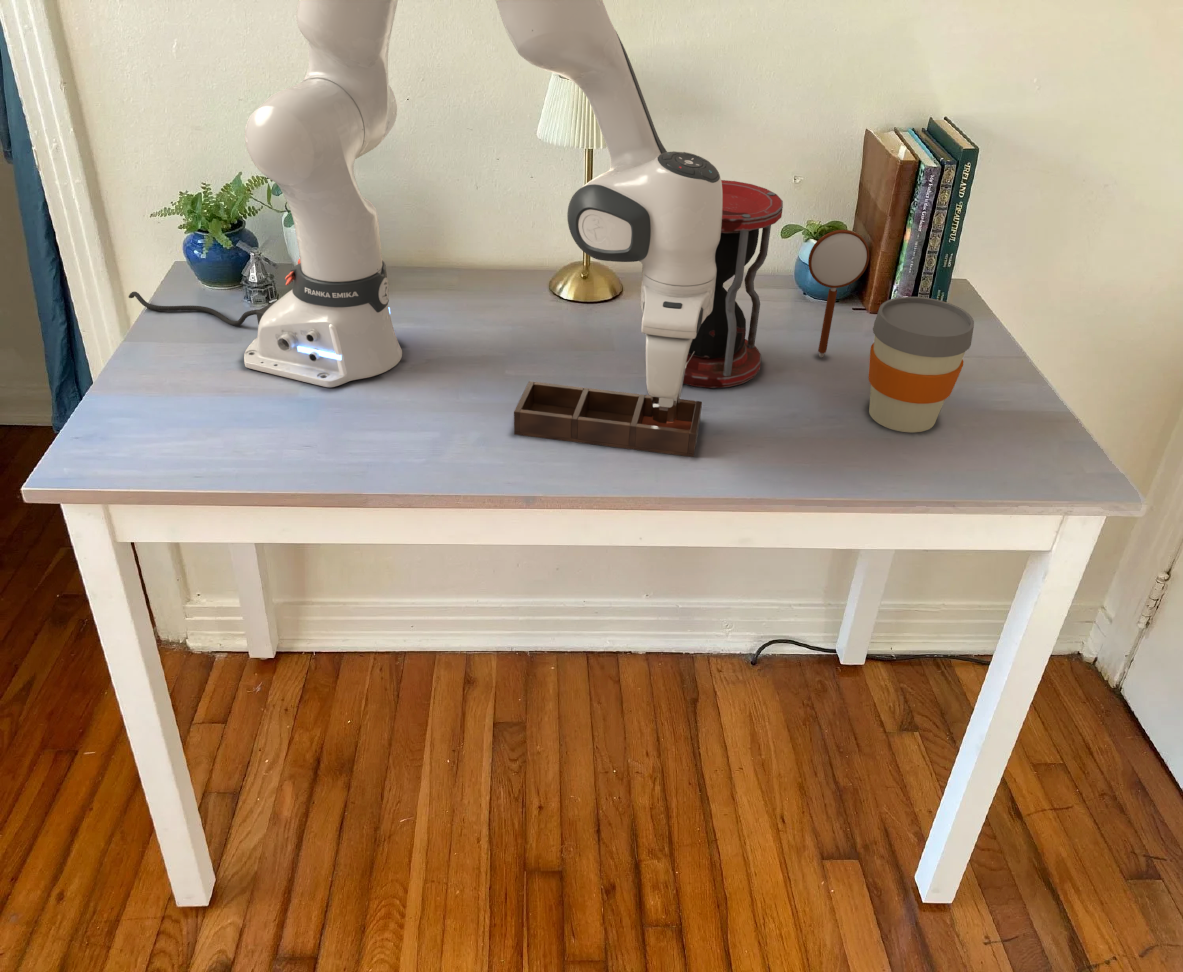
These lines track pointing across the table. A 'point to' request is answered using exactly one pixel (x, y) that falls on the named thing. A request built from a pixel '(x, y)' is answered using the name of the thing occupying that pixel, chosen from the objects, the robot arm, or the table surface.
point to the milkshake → (667, 413)
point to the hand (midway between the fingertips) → (668, 394)
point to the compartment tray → (604, 419)
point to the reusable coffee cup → (915, 360)
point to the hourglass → (734, 290)
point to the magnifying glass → (836, 269)
